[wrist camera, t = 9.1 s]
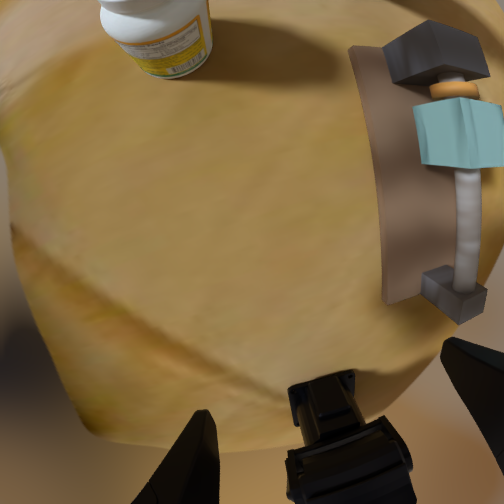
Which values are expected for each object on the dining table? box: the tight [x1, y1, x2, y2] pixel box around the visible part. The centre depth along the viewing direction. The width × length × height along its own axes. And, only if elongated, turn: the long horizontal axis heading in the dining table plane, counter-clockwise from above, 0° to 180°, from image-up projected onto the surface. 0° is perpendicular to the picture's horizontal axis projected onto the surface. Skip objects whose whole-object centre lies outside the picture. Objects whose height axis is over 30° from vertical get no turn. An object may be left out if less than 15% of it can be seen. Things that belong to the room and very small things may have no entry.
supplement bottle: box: [98, 0, 213, 79], centre depth 10 cm, size 5×5×10 cm
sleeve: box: [412, 97, 504, 169], centre depth 13 cm, size 4×5×5 cm
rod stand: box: [348, 20, 490, 325], centre depth 15 cm, size 20×10×7 cm, turn 12°
